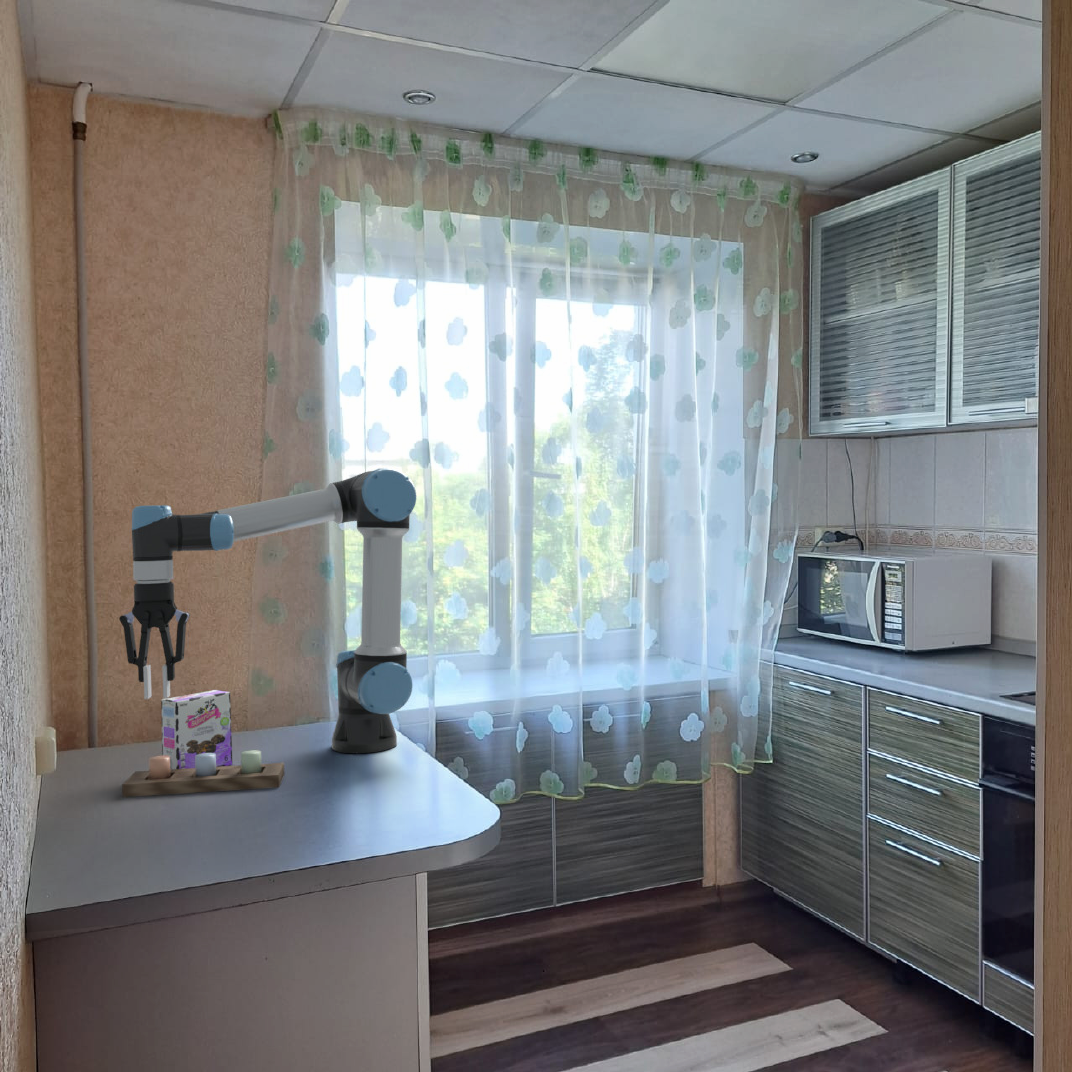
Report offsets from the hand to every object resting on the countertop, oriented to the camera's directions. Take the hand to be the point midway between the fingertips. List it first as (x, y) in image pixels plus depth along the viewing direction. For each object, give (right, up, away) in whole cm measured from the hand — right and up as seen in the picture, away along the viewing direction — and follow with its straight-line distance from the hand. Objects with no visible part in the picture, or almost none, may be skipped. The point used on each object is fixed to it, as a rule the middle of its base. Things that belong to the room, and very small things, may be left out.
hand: (157, 697), depth 197 cm
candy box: (+3, -18, +15) cm, 24 cm away
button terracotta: (0, -16, 0) cm, 16 cm away
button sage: (+18, -16, +3) cm, 24 cm away
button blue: (+9, -16, +2) cm, 19 cm away
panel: (+9, -18, +2) cm, 21 cm away
